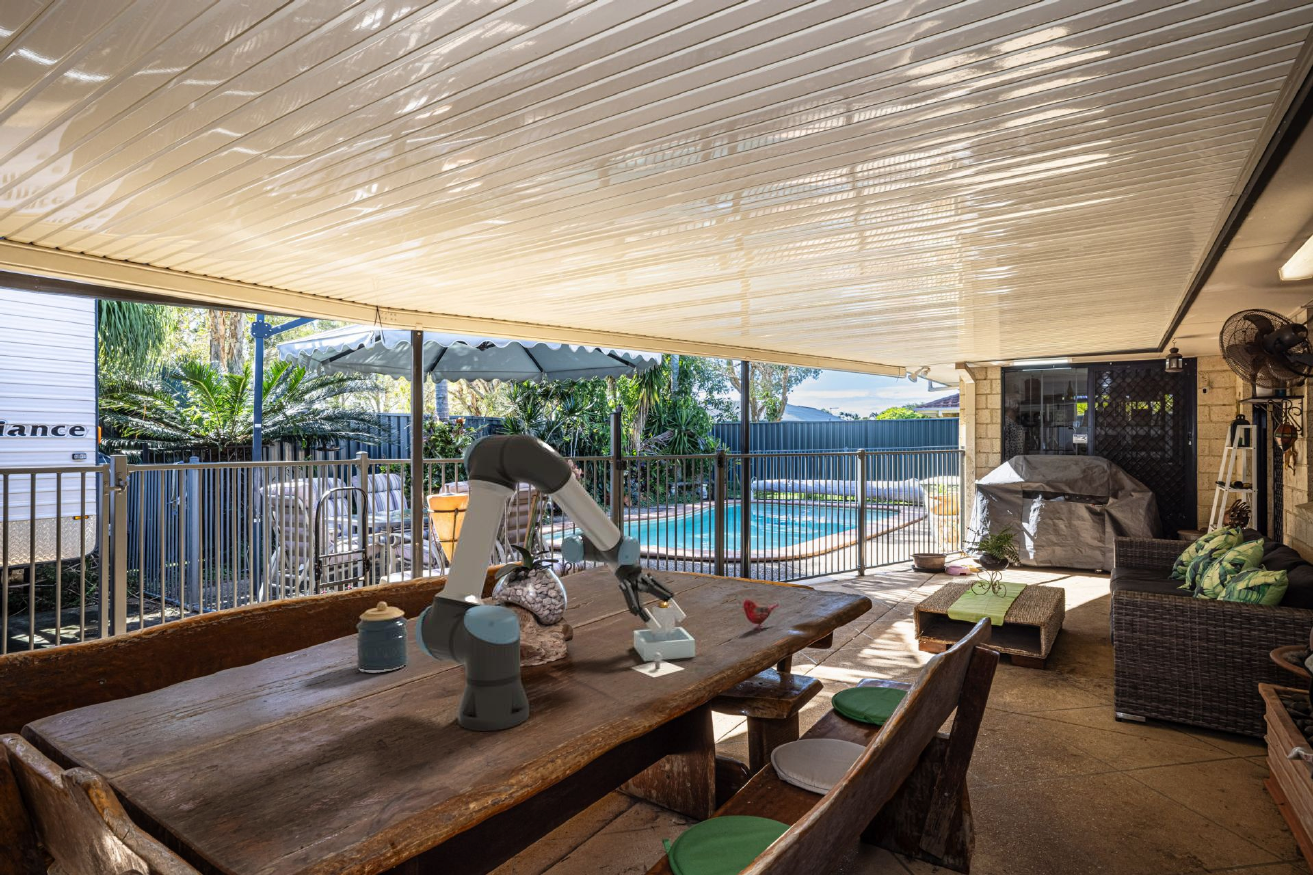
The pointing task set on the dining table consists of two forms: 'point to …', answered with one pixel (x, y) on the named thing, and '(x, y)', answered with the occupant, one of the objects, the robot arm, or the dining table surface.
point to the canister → (382, 638)
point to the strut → (664, 622)
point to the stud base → (657, 667)
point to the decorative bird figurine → (757, 612)
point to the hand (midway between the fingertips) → (670, 624)
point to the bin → (664, 645)
